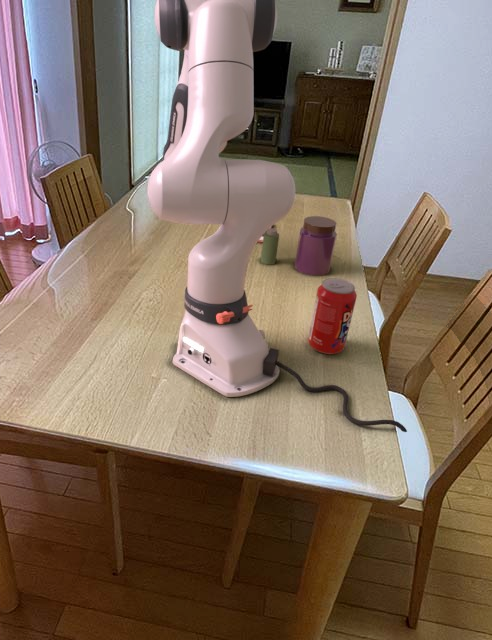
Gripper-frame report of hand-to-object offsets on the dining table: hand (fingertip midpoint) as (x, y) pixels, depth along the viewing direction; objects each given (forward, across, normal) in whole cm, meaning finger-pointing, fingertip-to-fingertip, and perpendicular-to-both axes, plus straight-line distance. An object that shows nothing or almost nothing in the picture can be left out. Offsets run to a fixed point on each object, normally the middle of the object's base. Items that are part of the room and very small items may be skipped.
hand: (243, 216), depth 138 cm
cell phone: (+8, +22, +9) cm, 25 cm away
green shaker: (+15, 0, +2) cm, 15 cm away
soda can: (+31, -39, -13) cm, 51 cm away
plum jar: (+24, +1, -6) cm, 25 cm away
